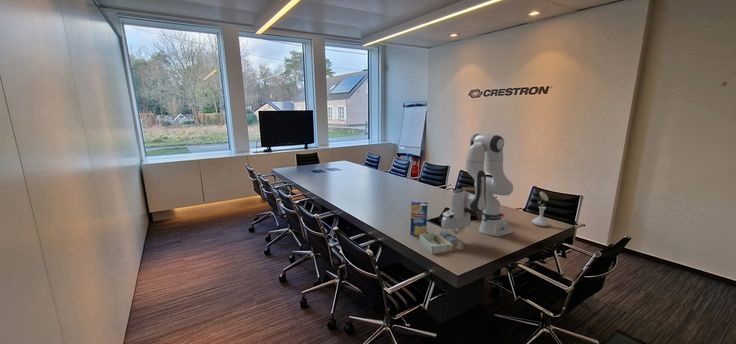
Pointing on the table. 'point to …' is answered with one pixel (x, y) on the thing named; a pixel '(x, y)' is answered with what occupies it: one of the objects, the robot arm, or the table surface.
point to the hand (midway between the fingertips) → (455, 233)
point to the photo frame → (479, 215)
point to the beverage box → (418, 218)
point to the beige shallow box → (450, 246)
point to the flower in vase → (541, 213)
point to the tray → (432, 244)
